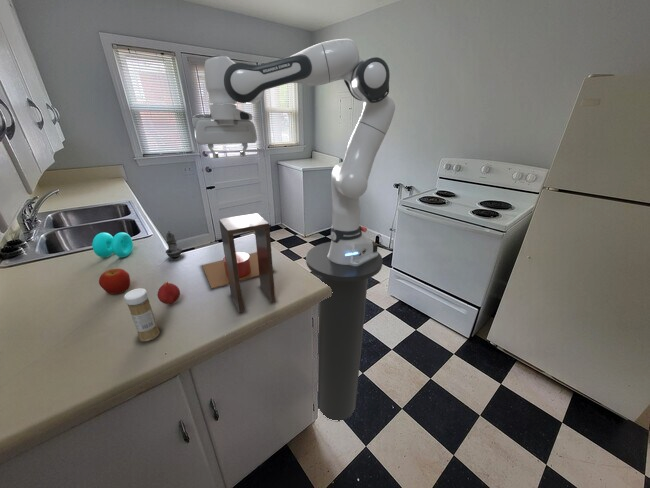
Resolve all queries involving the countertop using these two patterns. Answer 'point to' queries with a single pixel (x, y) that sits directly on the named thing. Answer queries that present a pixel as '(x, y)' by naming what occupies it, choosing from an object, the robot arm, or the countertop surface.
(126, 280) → the apple
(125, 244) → the donuts
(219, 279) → the mat
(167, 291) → the onion
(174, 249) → the grey statuette
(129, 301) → the spice jar
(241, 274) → the saucepan
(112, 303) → the countertop surface
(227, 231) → the shelf
